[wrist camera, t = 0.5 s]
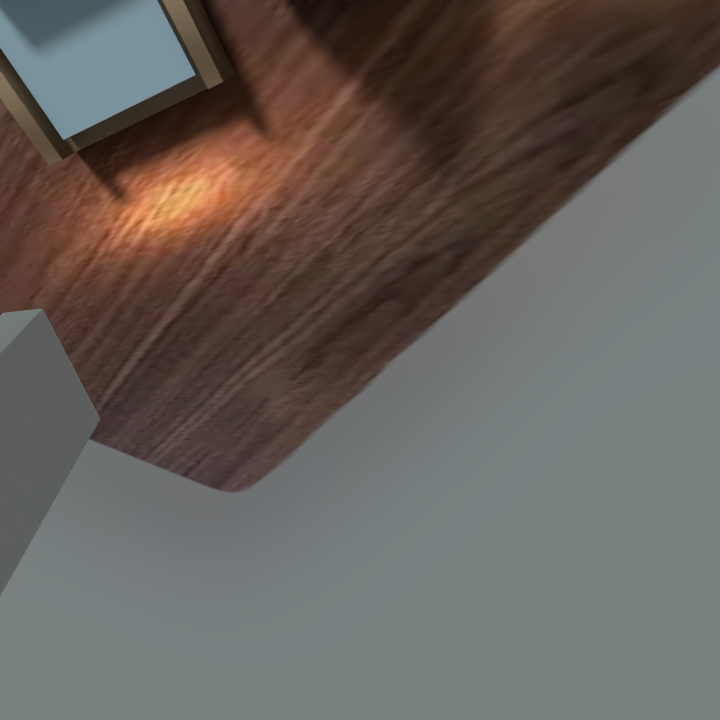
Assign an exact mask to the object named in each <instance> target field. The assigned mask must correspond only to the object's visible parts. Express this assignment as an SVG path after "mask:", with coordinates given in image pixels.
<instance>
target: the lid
mask: <svg viewBox="0 0 720 720" xmlns="http://www.w3.org/2000/svg"><path fill="white" fill-rule="evenodd" d="M0 48H1V50H2V51H3V52H4V54H5V55H6V57H7V58H8V60H9V61H10V63H11V64H12V66H13V67H14V69H15V70H16V72H17V73H18V74H19V76H20V77H21V79H22V80H23V82H24V83H25V85H26V86H27V88H28V89H29V91H30V92H31V93H32V95H33V96H34V98H35V99H36V101H37V102H38V104H39V105H40V107H41V108H42V110H43V111H44V112H45V114H46V115H47V117H48V118H49V120H50V121H51V123H52V124H53V126H54V127H55V129H56V130H57V131H58V133H59V134H60V136H61V137H62V139H63V140H64V139H66V138H68V137H70V136H73V135H75V134H77V133H79V132H81V131H83V130H85V129H87V128H89V127H91V126H93V125H95V124H97V123H99V122H101V121H103V120H105V119H107V118H109V117H111V116H113V115H115V114H117V113H119V112H121V111H123V110H125V109H127V108H129V107H131V106H133V105H135V104H138V103H140V102H142V101H144V100H146V99H148V98H150V97H152V96H154V95H156V94H158V93H160V92H162V91H164V90H166V89H168V88H170V87H172V86H174V85H176V84H178V83H180V82H182V81H184V80H186V79H188V78H190V77H192V76H194V75H196V74H198V73H199V71H198V69H197V67H196V66H195V64H194V62H193V60H192V58H191V56H190V54H189V52H188V50H187V48H186V46H185V44H184V42H183V40H182V38H181V36H180V34H179V32H178V30H177V28H176V27H175V25H174V23H173V21H172V19H171V17H170V15H169V13H168V11H167V9H166V7H165V5H164V3H163V1H162V0H0Z"/></svg>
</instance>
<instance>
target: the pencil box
mask: <svg viewBox="0 0 720 720" xmlns="http://www.w3.org/2000/svg"><path fill="white" fill-rule="evenodd" d="M162 1H163V3H164V5H165V7H166V9H167V11H168V13H169V15H170V17H171V19H172V21H173V23H174V25H175V27H176V28H177V30H178V32H179V34H180V36H181V38H182V40H183V42H184V44H185V46H186V48H187V50H188V52H189V54H190V56H191V58H192V60H193V62H194V64H195V66H196V67H197V69H198V71H199V73H198V74H196V75H194V76H192V77H190V78H188V79H186V80H184V81H182V82H180V83H178V84H176V85H174V86H172V87H170V88H168V89H166V90H164V91H162V92H160V93H158V94H156V95H154V96H152V97H150V98H148V99H146V100H144V101H142V102H140V103H138V104H135V105H133V106H131V107H129V108H127V109H125V110H123V111H121V112H119V113H117V114H115V115H113V116H111V117H109V118H107V119H105V120H103V121H101V122H99V123H97V124H95V125H93V126H91V127H89V128H87V129H85V130H83V131H81V132H79V133H77V134H75V135H73V136H70V137H68V138H66V139H64V140H63V139H62V137H61V136H60V134H59V133H58V131H57V130H56V129H55V127H54V126H53V124H52V123H51V121H50V120H49V118H48V117H47V115H46V114H45V112H44V111H43V110H42V108H41V107H40V105H39V104H38V102H37V101H36V99H35V98H34V96H33V95H32V93H31V92H30V91H29V89H28V88H27V86H26V85H25V83H24V82H23V80H22V79H21V77H20V76H19V74H18V73H17V72H16V70H15V69H14V67H13V66H12V64H11V63H10V61H9V60H8V58H7V57H6V55H5V54H4V52H3V51H2V50H1V48H0V98H1V100H2V101H3V103H4V104H5V105H6V107H7V108H8V110H9V111H10V112H11V114H12V115H13V116H14V118H15V119H16V121H17V122H18V123H19V125H20V126H21V128H22V129H23V130H24V132H25V133H26V135H27V136H28V137H29V139H30V140H31V142H32V143H33V144H34V146H35V147H36V149H37V150H38V151H39V153H40V154H41V156H42V157H43V158H44V160H45V161H46V163H47V164H48V165H49V166H50V165H52V164H54V163H56V162H59V161H61V160H63V159H64V158H66V157H68V156H69V155H71V154H73V153H75V152H77V151H79V150H81V149H83V148H85V147H87V146H89V145H91V144H94V143H96V142H98V141H100V140H102V139H104V138H106V137H108V136H110V135H112V134H114V133H116V132H118V131H120V130H122V129H125V128H127V127H129V126H131V125H133V124H135V123H137V122H139V121H141V120H143V119H145V118H147V117H149V116H151V115H153V114H156V113H158V112H160V111H162V110H164V109H166V108H168V107H170V106H172V105H174V104H176V103H178V102H180V101H182V100H184V99H186V98H189V97H191V96H193V95H195V94H197V93H199V92H201V91H203V90H205V89H207V88H208V89H210V88H212V87H214V86H216V85H218V84H220V83H222V82H224V81H225V80H227V79H228V78H229V77H231V76H232V75H234V74H235V72H234V70H233V68H232V66H231V64H230V62H229V60H228V58H227V56H226V53H225V51H224V49H223V47H222V45H221V43H220V41H219V39H218V37H217V35H216V33H215V30H214V28H213V26H212V24H211V22H210V20H209V18H208V16H207V14H206V12H205V10H204V7H203V5H202V3H201V1H200V0H162Z"/></svg>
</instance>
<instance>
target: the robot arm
mask: <svg viewBox="0 0 720 720" xmlns="http://www.w3.org/2000/svg"><path fill="white" fill-rule="evenodd" d="M99 420H100V418H99V416H98V414H97V412H96V410H95V408H94V406H93V404H92V402H91V400H90V398H89V397H88V395H87V393H86V391H85V389H84V387H83V385H82V383H81V381H80V379H79V377H78V376H77V374H76V372H75V370H74V368H73V366H72V364H71V362H70V360H69V358H68V356H67V355H66V353H65V351H64V349H63V347H62V345H61V343H60V341H59V339H58V337H57V335H56V334H55V332H54V330H53V328H52V326H51V324H50V322H49V320H48V318H47V316H46V314H45V313H44V311H43V309H34V310H25V311H17V312H8V313H3V314H2V315H1V316H0V595H1V594H2V592H3V590H4V588H5V587H6V585H7V583H8V581H9V579H10V578H11V576H12V574H13V572H14V571H15V569H16V567H17V565H18V563H19V562H20V560H21V558H22V556H23V555H24V553H25V551H26V549H27V547H28V546H29V544H30V542H31V540H32V539H33V537H34V535H35V533H36V531H37V530H38V528H39V526H40V525H41V523H42V521H43V519H44V517H45V516H46V514H47V512H48V510H49V508H50V507H51V505H52V503H53V501H54V500H55V498H56V496H57V494H58V493H59V491H60V489H61V487H62V486H63V484H64V482H65V480H66V478H67V477H68V475H69V473H70V471H71V470H72V468H73V466H74V464H75V463H76V461H77V459H78V457H79V455H80V454H81V452H82V450H83V448H84V447H85V445H86V443H87V441H88V439H89V438H90V436H91V434H92V432H93V431H94V429H95V427H96V425H97V424H98V422H99Z"/></svg>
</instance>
